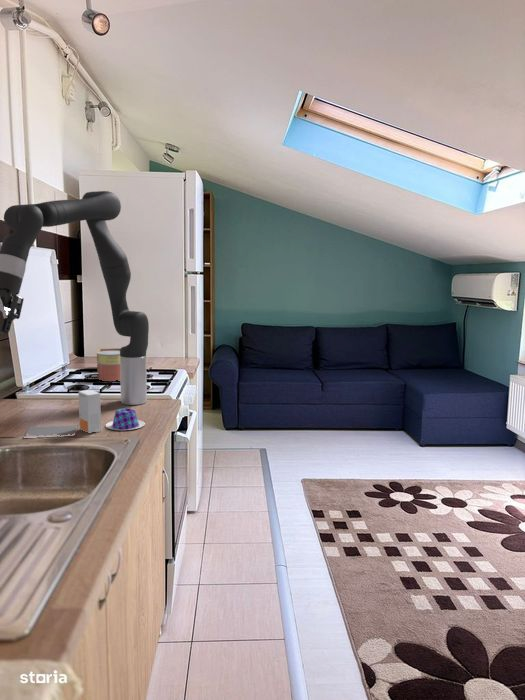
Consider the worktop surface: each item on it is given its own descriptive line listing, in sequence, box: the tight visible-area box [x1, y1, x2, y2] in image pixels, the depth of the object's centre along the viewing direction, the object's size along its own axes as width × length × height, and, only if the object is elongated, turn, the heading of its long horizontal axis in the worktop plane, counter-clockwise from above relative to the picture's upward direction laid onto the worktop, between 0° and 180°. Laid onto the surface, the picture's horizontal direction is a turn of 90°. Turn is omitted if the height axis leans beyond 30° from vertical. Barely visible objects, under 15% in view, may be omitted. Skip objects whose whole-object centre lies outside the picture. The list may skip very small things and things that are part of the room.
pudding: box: [105, 408, 146, 431], centre depth 171 cm, size 12×12×5 cm
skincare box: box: [78, 389, 102, 434], centre depth 165 cm, size 6×4×12 cm
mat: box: [24, 424, 79, 436], centre depth 163 cm, size 10×14×1 cm
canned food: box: [97, 350, 120, 381], centre depth 237 cm, size 11×11×12 cm
